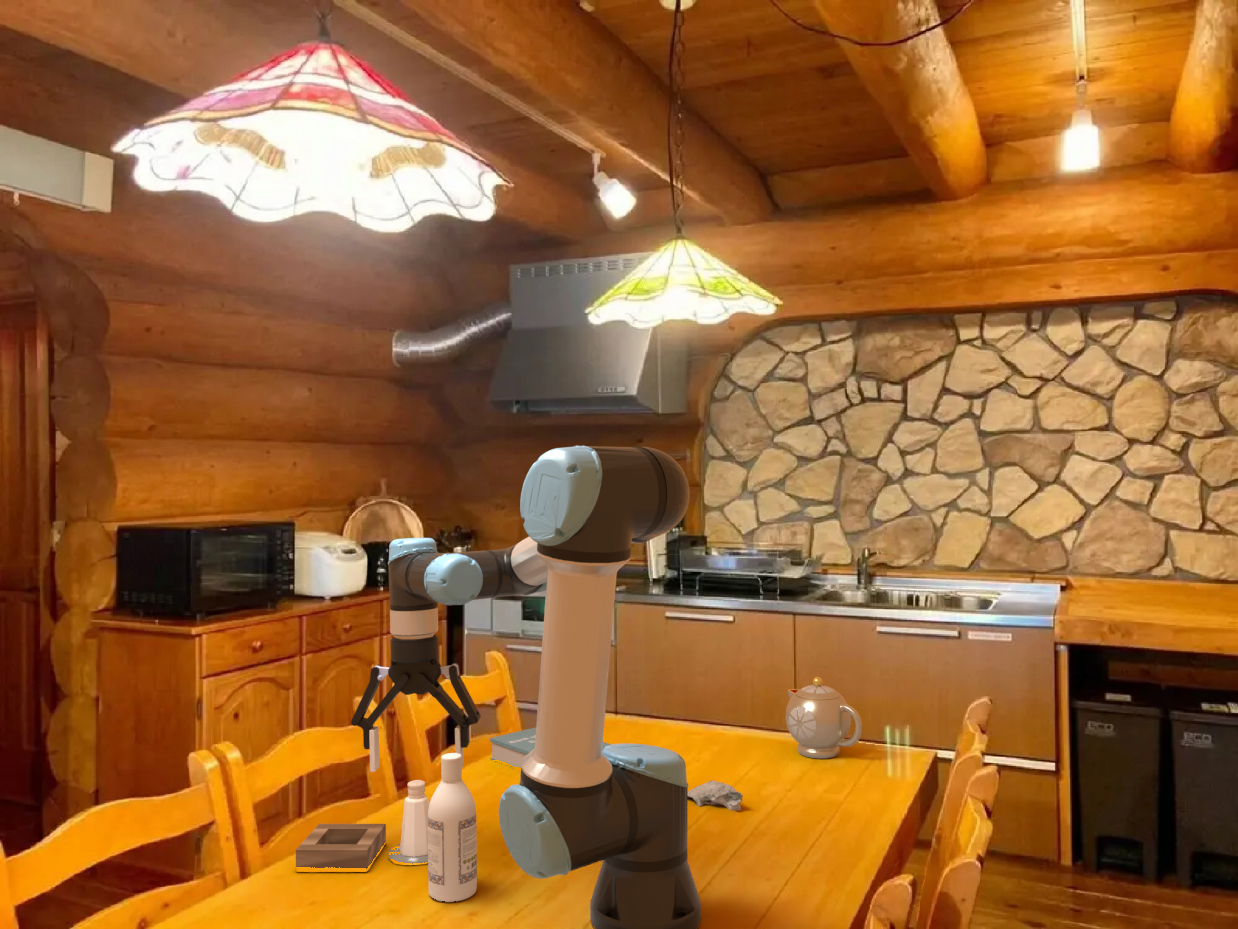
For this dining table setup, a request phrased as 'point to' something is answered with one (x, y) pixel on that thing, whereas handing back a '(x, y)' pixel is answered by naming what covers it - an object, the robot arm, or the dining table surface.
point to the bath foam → (452, 835)
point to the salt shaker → (415, 821)
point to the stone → (716, 795)
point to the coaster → (407, 859)
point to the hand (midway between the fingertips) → (417, 769)
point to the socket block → (341, 846)
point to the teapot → (820, 720)
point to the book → (515, 746)
